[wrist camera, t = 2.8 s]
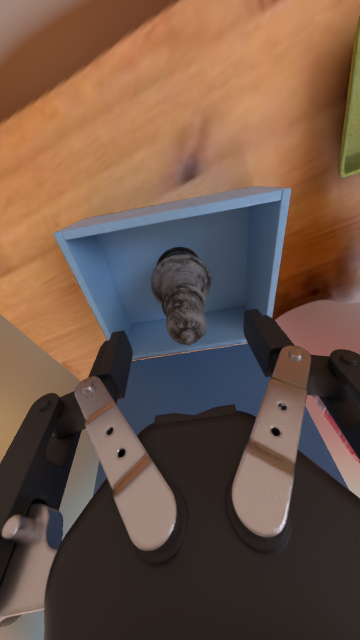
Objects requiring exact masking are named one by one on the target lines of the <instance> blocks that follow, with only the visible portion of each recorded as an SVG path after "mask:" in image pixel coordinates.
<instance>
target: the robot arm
mask: <svg viewBox="0 0 360 640" xmlns="http://www.w3.org/2000/svg"><path fill="white" fill-rule="evenodd" d="M243 331H244V336H245V338H246V340H247V342H248V344H249V346H250V348H251V350H252V352H253V354H254V356H255V358H256V360H257V362H258V364H259V366H260V368H261V370H262V371H263V373H264V375H265V377H270V380H269V383H268V386H267V388H266V391H265V394H264V397H263V400H262V403H261V406H260V409H259V412H258V415H257V417H256V416H254V415H252V414H249V413H246V412H243V411H238V410H236V407H235V404H232V405H225V406H218V407H213V408H211V409H209V410H206V411H204V412H202V413H199V414H197V415H188V414H179V413H170V414H163V415H156V416H155V422H154V423H152V424H150V425H148V426H147V427H145V428H144V429H143V430H142V431H141V432H140V433H139V434H138V435H137V436H136V434H135V433H134V431H133V429H132V428H131V426H130V425H129V423H128V422H127V420H126V419H125V417H124V415H123V414H122V412H121V411H120V409H119V408H118V406H117V401H118V399H122V398H125V393H126V387H127V382H128V377H129V372H130V366H131V361H132V356H133V351H132V347H131V344H130V342H129V339H128V337H127V335H126V332H125V331H124V330H123V331H117V332H112V334H111V336H110V339H109V340H108V341H105V342H104V343H103V345H102V346H101V347H100V349H99V352H98V354H97V357H96V359H95V362H94V365H93V367H92V370H91V372H90V375H89V377H88V378H86V379H84V380H83V381H82V382H80V383H79V385H78V386H77V387H76V389H75V391H74V392H71V393H69V394H67V395H64V396H62V397H59V396H58V395H57V394H54V393H49V394H46V395H44V396H42V397H41V398H39V399H38V400H37V401H36V402H35V403H34V404H33V405H32V407H31V408H30V410H29V412H28V414H27V415H26V417H25V419H24V421H23V423H22V425H21V426H20V428H19V430H18V432H17V434H16V436H15V437H14V439H13V441H12V443H11V445H10V447H9V448H8V450H7V452H6V454H5V456H4V458H3V460H2V461H1V463H0V627H2V626H7V625H10V624H12V623H13V622H15V621H16V620H17V619H18V618H19V617H20V616H21V615H22V614H26V613H30V612H35V611H40V610H44V624H45V631H44V640H360V498H358V497H357V496H356V495H355V494H354V493H352V492H351V491H350V490H348V489H347V488H346V487H345V486H343V485H342V484H341V483H340V482H338V481H337V480H336V479H335V478H333V477H332V476H331V475H330V474H328V473H327V472H326V471H325V470H323V469H322V468H321V467H320V466H318V465H317V464H316V463H315V462H313V461H312V460H311V459H310V458H308V457H307V456H306V455H305V454H303V453H302V452H301V451H299V450H298V444H299V439H300V433H301V427H302V421H303V415H304V409H305V403H306V398H307V395H312V396H319V398H320V399H321V401H322V402H323V404H324V405H325V407H326V408H327V410H328V412H329V413H330V415H331V416H332V418H333V419H334V421H335V422H336V424H337V426H338V427H339V429H340V430H341V432H342V433H343V435H344V436H345V438H346V440H347V441H348V443H349V444H350V446H351V447H352V449H353V450H354V452H355V454H356V455H357V457H358V458H359V460H360V355H359V354H357V353H355V352H352V351H349V350H343V349H342V350H341V349H339V350H335V351H333V352H332V353H331V355H330V357H329V356H318V355H310V353H309V352H308V351H306V350H305V349H303V348H301V347H298V346H294V344H293V343H292V342H291V340H290V339H289V338H288V337H287V335H286V334H285V333H284V332H283V330H281V328H280V327H279V326H278V324H277V323H276V321H275V320H274V319H273V318H271V317H269V316H268V315H262V314H261V313H260V312H259V310H258V309H251V310H245V311H244V326H243ZM85 428H86V429H87V431H88V434H89V436H90V438H91V441H92V443H93V445H94V448H95V450H96V452H97V455H98V457H99V460H100V462H101V464H102V467H103V469H104V471H105V474H106V476H107V478H106V479H105V480H104V482H103V483H102V485H101V486H100V487H99V489H98V490H97V492H96V493H95V494H94V496H93V497H92V499H91V500H90V502H89V503H88V504H87V506H86V507H85V508H84V510H83V511H82V513H81V514H80V516H79V517H78V518H77V520H76V521H75V523H74V524H73V525H72V527H71V528H70V530H69V531H68V533H67V534H66V535H65V537H64V539H63V540H62V536H63V531H62V528H63V517H62V514H61V513H60V512H59V507H60V504H61V500H62V497H63V494H64V490H65V487H66V483H67V480H68V476H69V473H70V469H71V466H72V462H73V459H74V455H75V452H76V448H77V445H78V441H79V438H80V434H81V431H82V430H83V429H85ZM50 438H51V439H50ZM48 443H49V444H48Z"/></svg>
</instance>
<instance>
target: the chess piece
mask: <svg viewBox="0 0 360 640" xmlns="http://www.w3.org/2000/svg"><path fill="white" fill-rule="evenodd" d="M210 288H211V275H210V272H209V270H208V268H207V267H206V265H205V264H204V263H203V262H202V261H201V259H200V258H199V256H198V255H197V254H196V253H195V252H194V251H193V250H191V249H188V248H185V247H174V248H171V249H169V250H167V251H166V252H164V253H163V254H162V255H161V256H160V258H159V259H158V262H157V264H156V268H155V269H154V271H153V274H152V277H151V289H152V293H153V295H154V296H155V298H156V299H157V300H158V302H159V303H160V304H162V309H163V312H164V314H165V316H166V327H167V332H168V334H169V336H170V337H171V338H172V339H173V340H174V341H176V342H178V343H180V344H186V345H188V346H190V345H191V344H193V343H196V342H197V341H199V340H200V339H201V338H202V337H203V336H204V334H205V332H206V329H207V322H206V318H205V314H204V311H205V307H206V300H205V299H206V297H207V295H208V294H209V292H210Z"/></svg>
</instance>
